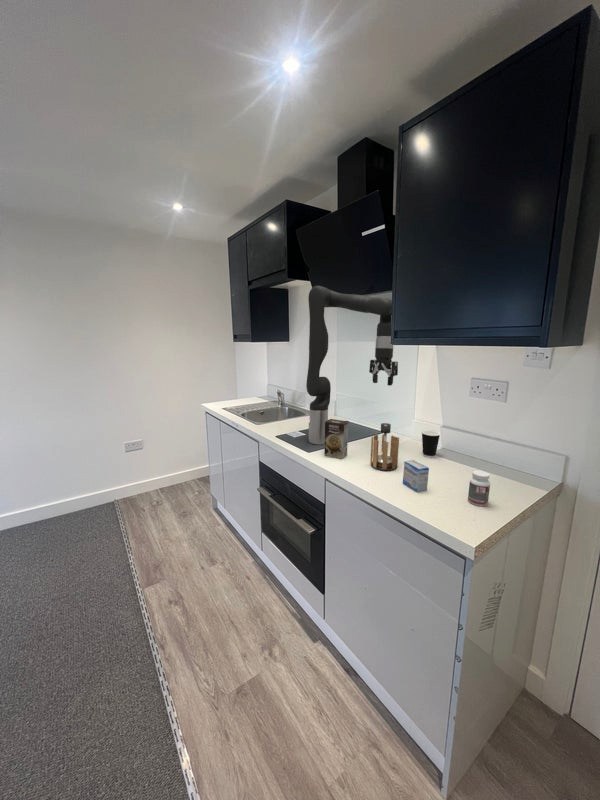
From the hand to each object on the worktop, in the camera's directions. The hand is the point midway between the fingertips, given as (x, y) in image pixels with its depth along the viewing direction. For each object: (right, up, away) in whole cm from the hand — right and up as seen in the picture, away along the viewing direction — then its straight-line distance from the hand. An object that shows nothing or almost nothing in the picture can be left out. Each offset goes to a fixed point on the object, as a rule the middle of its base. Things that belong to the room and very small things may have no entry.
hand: (382, 384), depth 140 cm
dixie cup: (+22, -32, +2) cm, 39 cm away
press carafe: (-1, -34, -8) cm, 35 cm away
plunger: (-2, -32, -10) cm, 33 cm away
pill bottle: (+21, -40, -38) cm, 59 cm away
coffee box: (-20, -32, +3) cm, 38 cm away
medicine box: (+4, -38, -27) cm, 47 cm away
